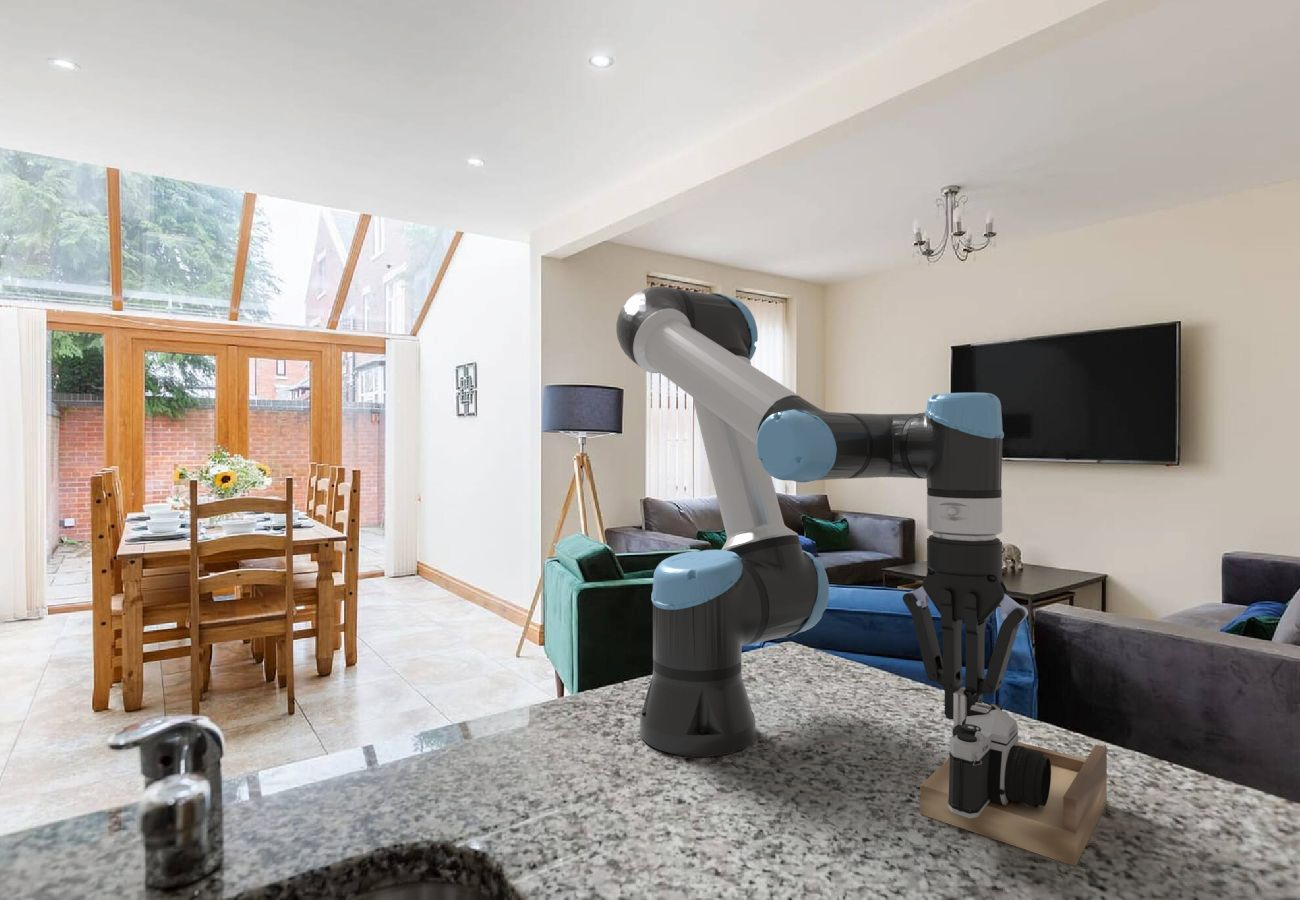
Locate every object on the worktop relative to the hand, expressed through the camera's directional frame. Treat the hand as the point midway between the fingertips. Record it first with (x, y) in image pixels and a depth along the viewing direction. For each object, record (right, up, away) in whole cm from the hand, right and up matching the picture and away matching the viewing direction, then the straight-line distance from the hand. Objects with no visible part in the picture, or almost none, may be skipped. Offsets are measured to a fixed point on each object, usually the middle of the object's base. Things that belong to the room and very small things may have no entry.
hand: (963, 750), depth 79 cm
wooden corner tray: (+4, -5, -4) cm, 7 cm away
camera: (0, -2, -8) cm, 8 cm away
